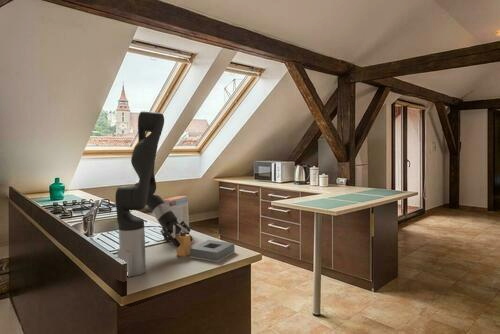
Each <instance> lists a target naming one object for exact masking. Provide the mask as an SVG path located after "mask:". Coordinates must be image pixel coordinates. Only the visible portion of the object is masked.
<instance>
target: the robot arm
mask: <svg viewBox="0 0 500 334" xmlns="http://www.w3.org/2000/svg"><path fill="white" fill-rule="evenodd" d="M164 125H165V116H164V114H163V113H162V112H155V111H148V110H142V111H140V112H139V114H138V118H137V133H138V134H137V135H138V143H137V144H136V145H135V147H134V148H133V152H132V155H131V160H130V161H131V166H132V167H133V170H134V171H135V173H136V174H137V177H138V179H139V180H138V182H136V183H135V184H134V185H120V186H118V187H117V189H116V190H115V208H116V209H115V211H116V221H117V225H118V226H117V227H118V244H119V245H118V246H119V248H118V249H117V251H116V252H117V259H118V258H120V259H122V260H124V261H125V262H127V272H128V278H131V276H132V277H136V276H139V275H142V274H144V273H146V272H147V264H146V263H147V262H146V238H145V234H146V233H145V220H144V219H143V218H141V217H138V216H136V215H135V214H133V213H131V211H142V210H144V209H145V208H146V207H148V209H149V210H150V212H151V213H152V214H153V216H154V218H155V219H156V221H157V222H158V224H160V226H161V229H160V231H159V232H160V233H161V235H162V237H163V239H164V238H165V239H166V240H165V239H164V240H165V242H171V243H172V245H174V247H175V248H176V247H177V248H178V247H179V246H180V245H181V244H180V243H179V241H178V240H177V239H176V238H175V234H181V232H186V234H188V235H190V241H191V242H193V241H194V238H193V236H192V235H191V233H190V232H191V228H190V226H189V227H188V226H187V225H186V224H185V222H184V221H182V222H181V223H179V222H177V217H176V216H175V215H174V213H173V212H172V211H171V209H170V208H169V207H168V206H167V205H166V204H165V202H164V201H163V198H162V197H161V196H160V195H157V194H155V193H156V190H157V183H156V177H155V164H156V162H155V161H156V157H157V151H158V146H159V142H160V138H161V135H162V132H163V129H164ZM147 132H148V133H150V134H148V135H147V136H146V133H147ZM181 229H182V230H181ZM186 229H187V230H186ZM167 236H168V237H167Z"/></svg>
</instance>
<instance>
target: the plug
mask: <svg viewBox="0 0 500 334" xmlns="http://www.w3.org/2000/svg"><path fill="white" fill-rule="evenodd" d="M190 235H191V234H190ZM190 235H188V234H186V232H181V235H178V236H176V239H177V240H178V241H179V243H180V244H181V245H180V246H179V247H178V248H177V247H176V246H175V248H176V256H180V257H187V256H188V255H189V256H190V248H191V245H192V244H191V241H190Z"/></svg>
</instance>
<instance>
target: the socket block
mask: <svg viewBox="0 0 500 334" xmlns="http://www.w3.org/2000/svg"><path fill="white" fill-rule="evenodd" d="M234 253H235V243H233V242H227V241H220V240H213V239H212V240H211V239H208V240H207V239H206V240H205V241H202V242H200V243H198V244H196V245H194V246H192V247H191V248H190V254H189V258H193V259H197V260H203V261H210V262H214V263H218V262H220V261H222V260H224V259H225V258H228V257H229V256H230V255H232V254H234Z"/></svg>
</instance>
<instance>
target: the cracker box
mask: <svg viewBox="0 0 500 334" xmlns="http://www.w3.org/2000/svg"><path fill="white" fill-rule="evenodd" d="M162 200H163V201H164V202H165V204H166V205H167V206H168V207H169V208H170V209H171V211H172V212H173V213H174V215H175V216H176V217H177V222H179V223H181V222H182V221H184V222H185V223H187V224H188V225H187V226H188V227H189V228H190V222H189V221H190V218H189V216H190V215H189V198H188V196H187V195H178V196H174V197H173V196H172V197H168V198H165V199H163V198H162ZM178 235H180V234H175V238H176V236H178ZM167 237H168V236H167ZM163 240H165V238H164V237H163Z"/></svg>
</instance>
